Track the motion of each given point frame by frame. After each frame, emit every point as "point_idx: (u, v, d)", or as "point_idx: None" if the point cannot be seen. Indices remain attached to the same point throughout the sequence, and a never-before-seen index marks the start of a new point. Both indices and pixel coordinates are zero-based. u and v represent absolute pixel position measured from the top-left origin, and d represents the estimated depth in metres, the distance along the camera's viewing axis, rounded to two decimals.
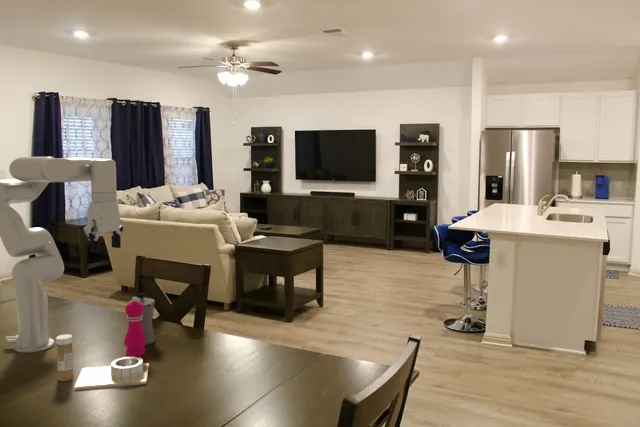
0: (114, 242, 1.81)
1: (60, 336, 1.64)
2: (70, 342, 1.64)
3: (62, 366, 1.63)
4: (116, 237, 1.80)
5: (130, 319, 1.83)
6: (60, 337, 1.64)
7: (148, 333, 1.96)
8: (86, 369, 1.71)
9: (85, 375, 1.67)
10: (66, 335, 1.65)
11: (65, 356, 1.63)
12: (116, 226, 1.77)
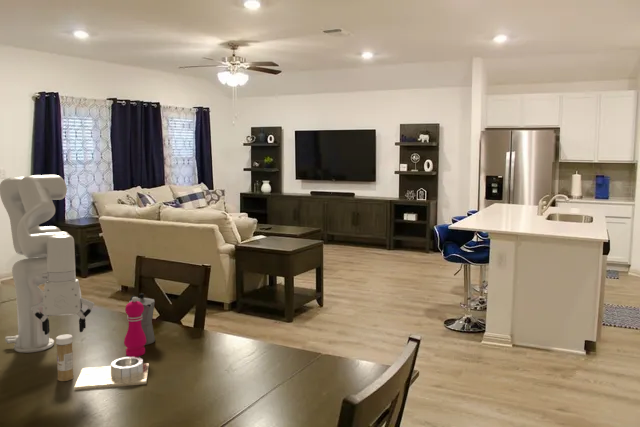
0: (47, 327, 1.62)
1: (60, 336, 1.64)
2: (70, 342, 1.64)
3: (62, 366, 1.63)
4: (48, 321, 1.63)
5: (130, 319, 1.83)
6: (60, 337, 1.64)
7: (148, 333, 1.96)
8: (86, 369, 1.71)
9: (85, 375, 1.67)
10: (66, 335, 1.65)
11: (65, 356, 1.63)
12: None
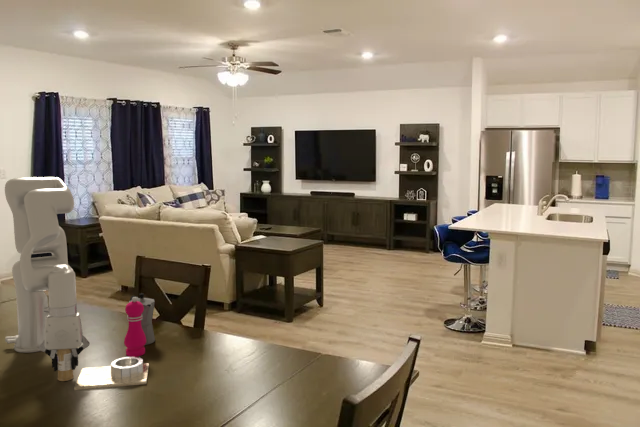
0: None
1: None
2: None
3: (62, 366, 1.63)
4: None
5: (130, 319, 1.83)
6: None
7: (148, 333, 1.96)
8: (86, 369, 1.71)
9: (85, 375, 1.67)
10: None
11: (65, 356, 1.63)
12: None
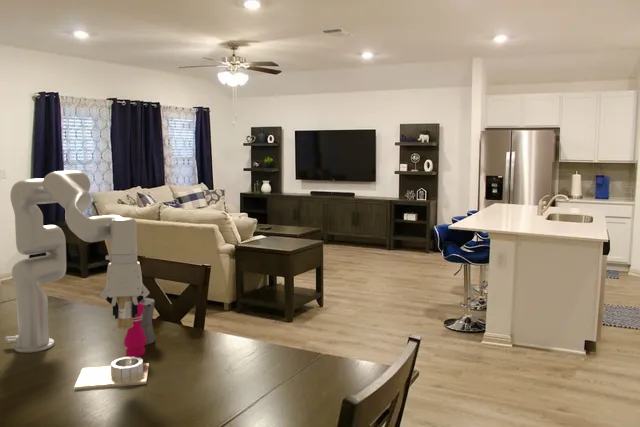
0: (117, 312, 1.65)
1: None
2: None
3: (123, 313, 1.64)
4: (117, 305, 1.66)
5: None
6: None
7: (148, 333, 1.96)
8: (86, 369, 1.71)
9: (85, 375, 1.67)
10: None
11: (126, 303, 1.64)
12: None
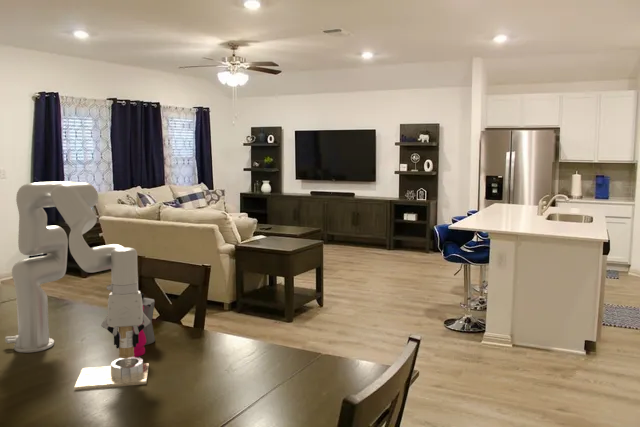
0: None
1: None
2: None
3: (124, 343, 1.65)
4: None
5: None
6: None
7: (148, 333, 1.96)
8: (86, 369, 1.71)
9: (85, 375, 1.67)
10: None
11: (127, 333, 1.65)
12: None
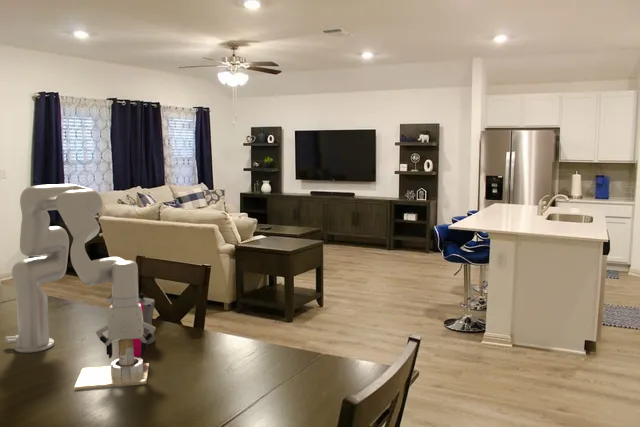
0: (111, 351, 1.66)
1: None
2: None
3: (124, 360, 1.66)
4: (111, 344, 1.67)
5: None
6: None
7: None
8: (86, 369, 1.71)
9: (85, 375, 1.67)
10: None
11: (127, 350, 1.66)
12: None
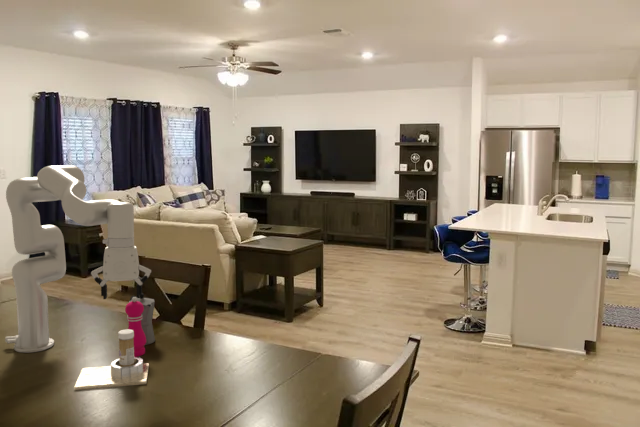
0: (106, 292, 1.66)
1: (122, 331, 1.67)
2: (132, 337, 1.67)
3: (124, 360, 1.66)
4: (106, 286, 1.66)
5: (130, 319, 1.83)
6: (122, 332, 1.66)
7: (148, 333, 1.96)
8: (86, 369, 1.71)
9: (85, 375, 1.67)
10: (127, 330, 1.68)
11: (128, 350, 1.66)
12: None
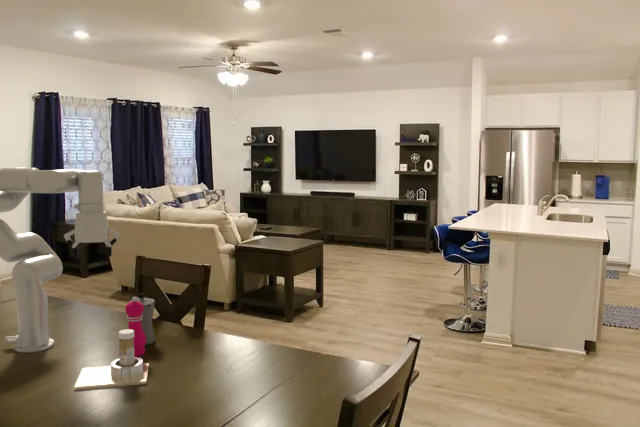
0: (78, 254, 1.80)
1: (122, 331, 1.67)
2: (132, 337, 1.67)
3: (124, 360, 1.66)
4: (78, 248, 1.81)
5: (130, 319, 1.83)
6: (123, 332, 1.66)
7: (148, 333, 1.96)
8: (86, 369, 1.71)
9: (85, 375, 1.67)
10: (128, 330, 1.68)
11: (128, 350, 1.66)
12: None
